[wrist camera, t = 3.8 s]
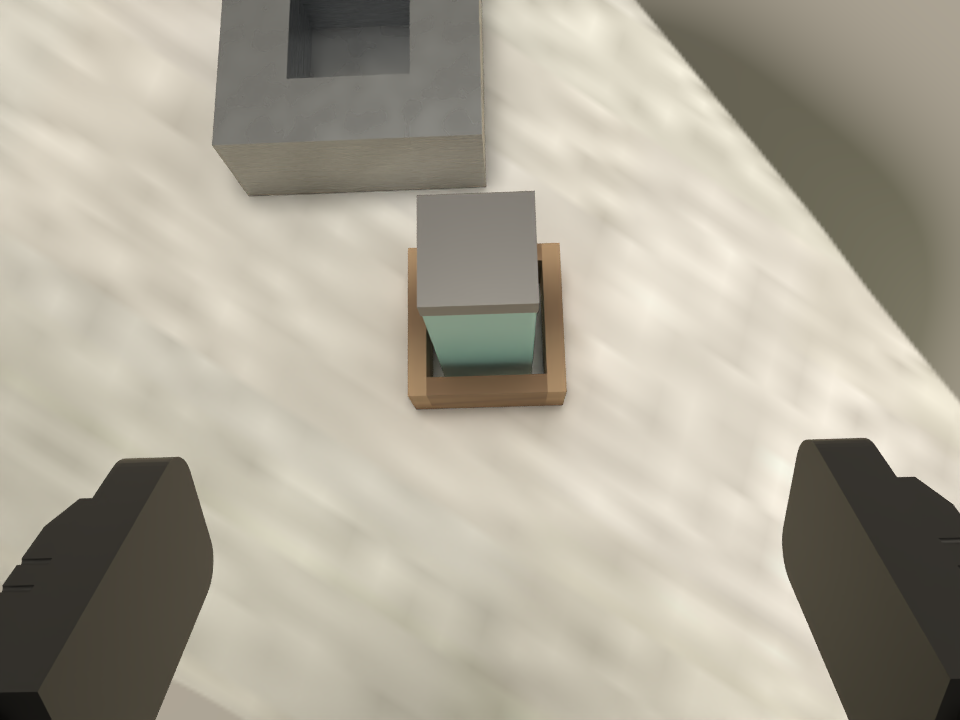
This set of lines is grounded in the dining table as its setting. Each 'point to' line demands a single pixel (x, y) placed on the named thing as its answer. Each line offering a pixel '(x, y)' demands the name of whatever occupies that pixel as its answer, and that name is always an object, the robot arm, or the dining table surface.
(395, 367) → the dining table surface
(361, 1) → the port
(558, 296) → the brown wooden square frame
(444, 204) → the plug
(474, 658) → the dining table surface
